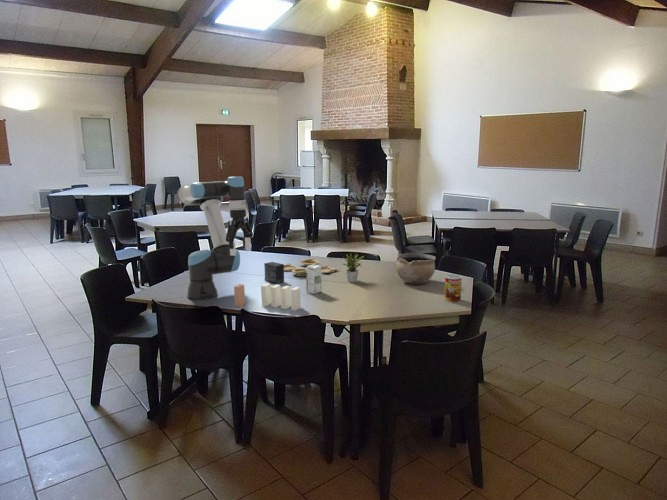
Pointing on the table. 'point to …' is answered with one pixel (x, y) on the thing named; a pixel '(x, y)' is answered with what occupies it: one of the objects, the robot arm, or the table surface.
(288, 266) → the tableware set
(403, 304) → the table surface
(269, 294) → the domino
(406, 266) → the ceramic bowl
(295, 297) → the domino
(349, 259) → the house plant
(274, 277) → the small box
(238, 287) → the domino
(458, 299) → the canned food
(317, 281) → the syrup box
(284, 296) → the domino
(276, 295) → the domino
